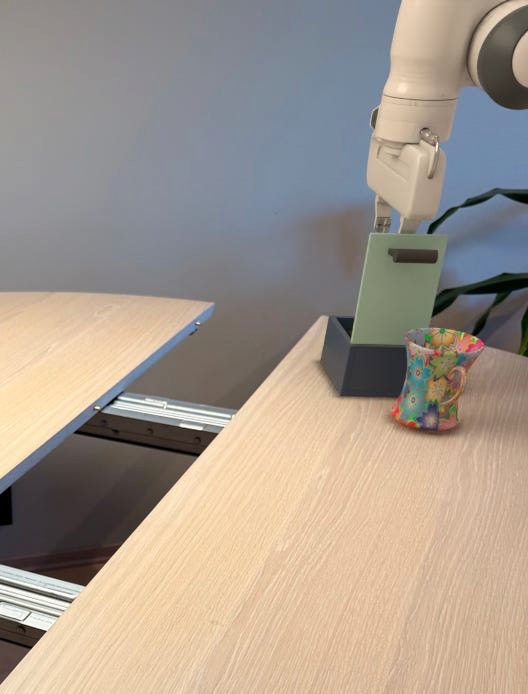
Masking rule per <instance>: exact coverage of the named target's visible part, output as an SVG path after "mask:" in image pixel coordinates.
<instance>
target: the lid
mask: <svg viewBox="0 0 528 694" xmlns="http://www.w3.org/2000/svg"><path fill="white" fill-rule="evenodd" d="M449 236H450V235H448V234H436V233H435V234H434V233H433V234H432V233H431V234H430V233H415V234H400V233H398V232H397V233H396V232H395V233H393V232H387V233H378V232H370V233H369V235H368V240H367V246H366V253H365V257H364V263H363V269H362V273H361V281H360V286H359V292H358V298H357V303H356V309H355V315H354V316H355V320H354V325H353V331H352V337H351V343H352V344H382V345H406V343H405V335H406V333H407V332H409V331H411V330H414V329H419V328H430V326H431V321H432V316H433V312H434V307H435V301H436V298H437V297H436V296H437V292H438V287H439V283H440V278H441V273H442V268H443V264H444V260H445V256H446V250H447V246H448V241H449Z"/></svg>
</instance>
